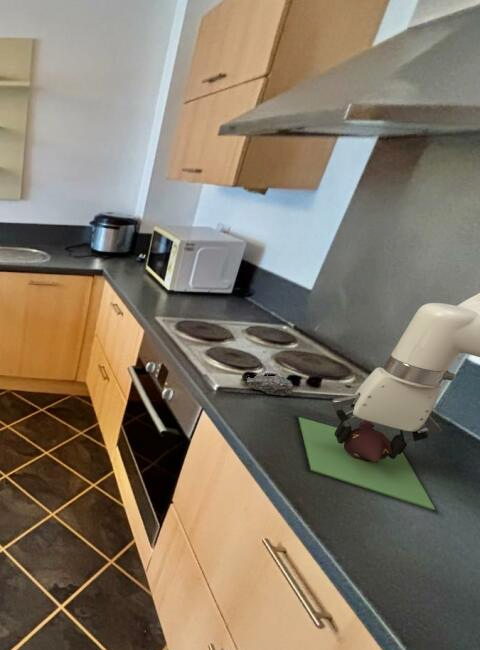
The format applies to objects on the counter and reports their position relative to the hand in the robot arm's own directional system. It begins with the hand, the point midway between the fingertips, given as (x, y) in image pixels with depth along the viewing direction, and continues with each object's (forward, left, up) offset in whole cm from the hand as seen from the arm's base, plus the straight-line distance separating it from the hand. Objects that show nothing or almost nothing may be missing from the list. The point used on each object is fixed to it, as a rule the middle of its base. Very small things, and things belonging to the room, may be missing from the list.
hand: (363, 446), depth 84 cm
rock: (+15, -23, -3) cm, 28 cm away
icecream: (0, 0, -3) cm, 3 cm away
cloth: (0, 0, -3) cm, 3 cm away
